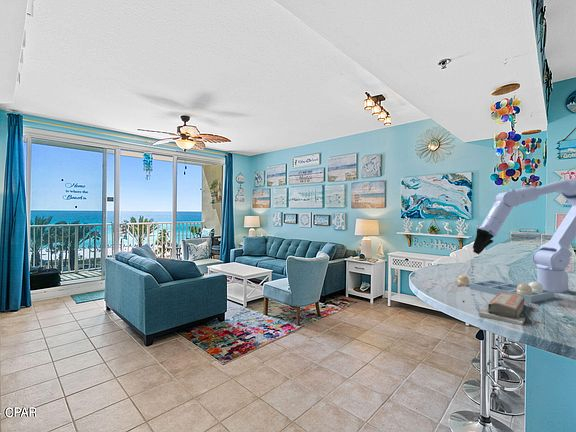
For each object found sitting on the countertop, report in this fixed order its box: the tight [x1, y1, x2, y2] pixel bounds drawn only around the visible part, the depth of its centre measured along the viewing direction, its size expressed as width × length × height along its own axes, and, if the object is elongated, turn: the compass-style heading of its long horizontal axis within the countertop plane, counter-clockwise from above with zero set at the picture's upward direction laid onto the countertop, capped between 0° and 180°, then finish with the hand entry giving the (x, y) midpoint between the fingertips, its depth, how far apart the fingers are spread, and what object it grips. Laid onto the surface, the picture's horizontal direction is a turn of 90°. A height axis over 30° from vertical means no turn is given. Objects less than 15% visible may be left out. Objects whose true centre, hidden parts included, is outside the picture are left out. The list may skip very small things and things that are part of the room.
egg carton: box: [468, 279, 555, 304], centre depth 102 cm, size 14×20×3 cm
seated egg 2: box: [527, 281, 543, 293], centre depth 97 cm, size 4×4×5 cm
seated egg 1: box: [517, 282, 532, 296], centre depth 95 cm, size 4×4×5 cm
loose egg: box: [457, 274, 470, 288], centre depth 114 cm, size 4×4×5 cm
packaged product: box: [478, 293, 527, 326], centre depth 84 cm, size 18×5×10 cm
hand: (475, 251), depth 108 cm, fingers open, 7 cm apart
